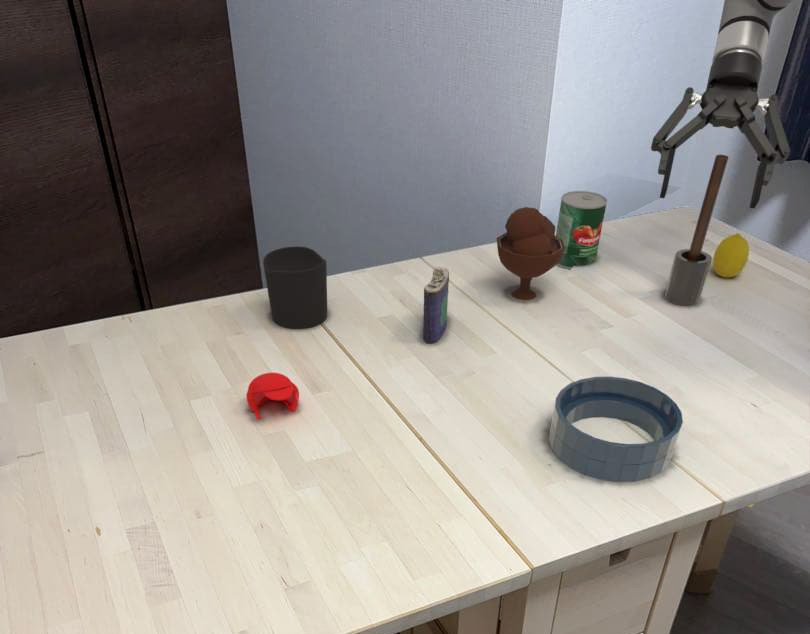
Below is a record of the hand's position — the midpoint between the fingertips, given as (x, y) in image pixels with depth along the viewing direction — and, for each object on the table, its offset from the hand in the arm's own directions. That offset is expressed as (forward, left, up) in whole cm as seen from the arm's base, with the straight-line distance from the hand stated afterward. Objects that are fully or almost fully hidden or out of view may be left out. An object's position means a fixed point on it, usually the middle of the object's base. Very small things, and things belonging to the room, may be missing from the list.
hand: (708, 199), depth 115 cm
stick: (0, +2, -15) cm, 15 cm away
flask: (+32, +31, -16) cm, 47 cm away
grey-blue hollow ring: (0, +48, -16) cm, 51 cm away
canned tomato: (+20, -6, -16) cm, 27 cm away
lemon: (-5, -11, -16) cm, 20 cm away
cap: (+42, +61, -16) cm, 76 cm away
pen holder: (+52, +37, -16) cm, 66 cm away
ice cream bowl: (+24, +13, -16) cm, 32 cm away
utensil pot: (0, +2, -16) cm, 16 cm away
